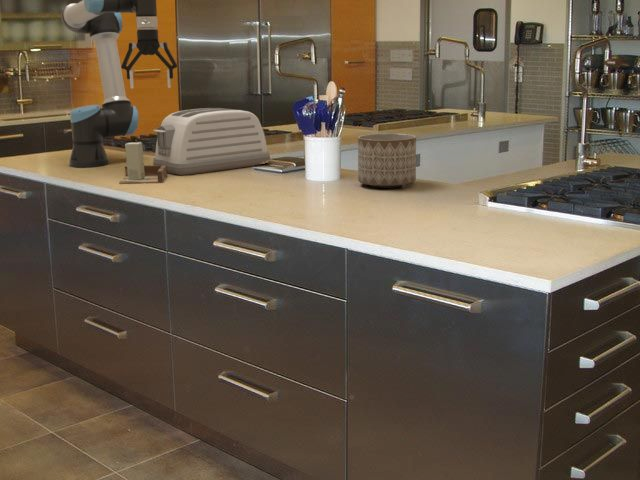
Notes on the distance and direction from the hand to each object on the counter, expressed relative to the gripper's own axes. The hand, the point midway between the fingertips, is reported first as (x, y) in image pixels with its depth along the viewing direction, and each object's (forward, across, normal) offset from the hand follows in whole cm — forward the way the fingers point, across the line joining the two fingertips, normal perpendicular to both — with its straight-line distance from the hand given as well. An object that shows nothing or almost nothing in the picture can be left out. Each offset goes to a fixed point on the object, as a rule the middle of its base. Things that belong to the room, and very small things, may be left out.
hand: (150, 88), depth 327 cm
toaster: (+32, +20, +10) cm, 39 cm away
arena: (+31, -2, -16) cm, 35 cm away
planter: (+31, +83, -40) cm, 97 cm away
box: (+31, -5, -17) cm, 36 cm away
